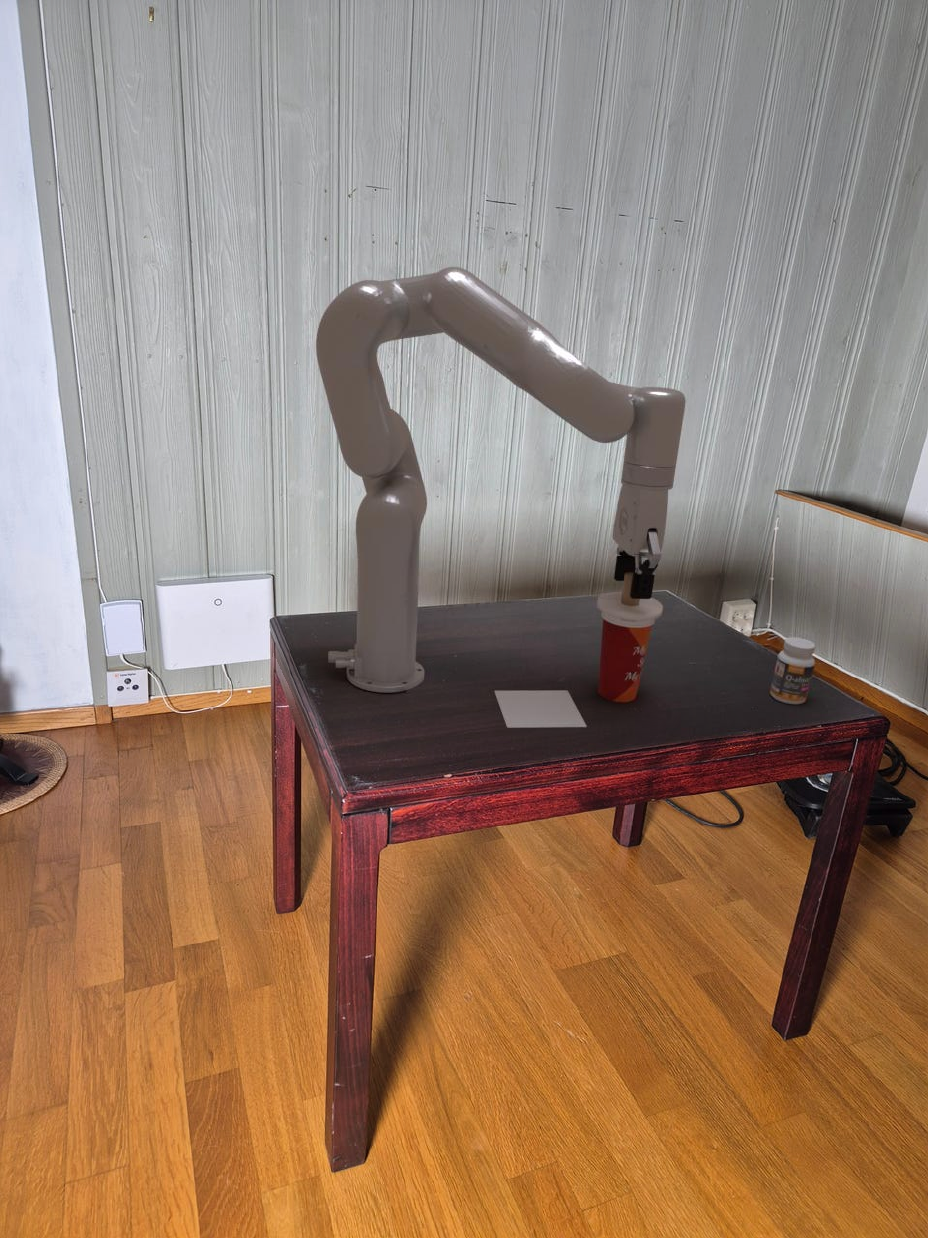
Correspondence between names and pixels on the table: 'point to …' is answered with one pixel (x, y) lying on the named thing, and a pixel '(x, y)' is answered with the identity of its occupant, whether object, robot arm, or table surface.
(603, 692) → the coffee cup
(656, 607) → the lid
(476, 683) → the table surface
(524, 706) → the mat
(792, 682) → the pill bottle
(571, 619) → the table surface
